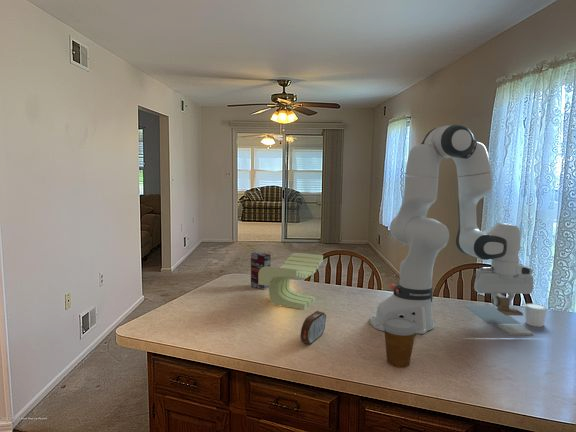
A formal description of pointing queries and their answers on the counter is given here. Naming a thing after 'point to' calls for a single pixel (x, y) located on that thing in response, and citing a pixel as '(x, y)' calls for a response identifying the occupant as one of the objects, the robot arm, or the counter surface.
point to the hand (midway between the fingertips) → (502, 304)
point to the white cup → (535, 314)
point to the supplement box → (258, 267)
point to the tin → (313, 327)
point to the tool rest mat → (491, 314)
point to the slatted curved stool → (280, 278)
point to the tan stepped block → (505, 306)
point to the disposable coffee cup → (399, 340)
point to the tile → (514, 329)
